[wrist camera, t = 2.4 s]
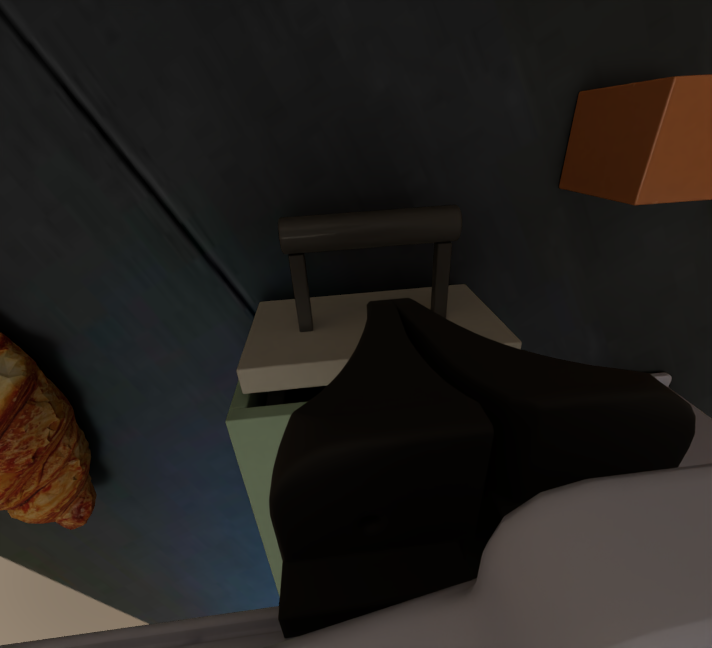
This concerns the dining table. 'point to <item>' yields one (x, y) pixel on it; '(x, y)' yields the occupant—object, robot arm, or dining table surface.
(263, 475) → the green drawer box
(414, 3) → the dining table surface
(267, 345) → the cream drawer
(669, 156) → the rust orange cube
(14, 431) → the croissant
